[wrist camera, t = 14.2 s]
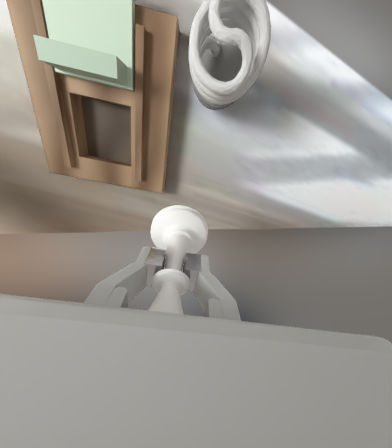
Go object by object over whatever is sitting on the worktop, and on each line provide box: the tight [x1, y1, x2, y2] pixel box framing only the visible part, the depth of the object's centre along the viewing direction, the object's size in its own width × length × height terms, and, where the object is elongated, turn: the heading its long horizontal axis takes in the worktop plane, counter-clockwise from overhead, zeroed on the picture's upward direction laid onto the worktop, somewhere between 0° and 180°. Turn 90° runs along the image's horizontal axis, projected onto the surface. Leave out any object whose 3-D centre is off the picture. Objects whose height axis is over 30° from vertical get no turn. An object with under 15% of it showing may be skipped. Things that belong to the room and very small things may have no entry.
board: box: [6, 0, 180, 193], centre depth 20 cm, size 16×18×3 cm
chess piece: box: [148, 205, 208, 314], centre depth 9 cm, size 5×5×10 cm
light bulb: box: [188, 0, 271, 110], centre depth 14 cm, size 6×6×12 cm
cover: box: [33, 0, 135, 92], centre depth 14 cm, size 8×8×3 cm
